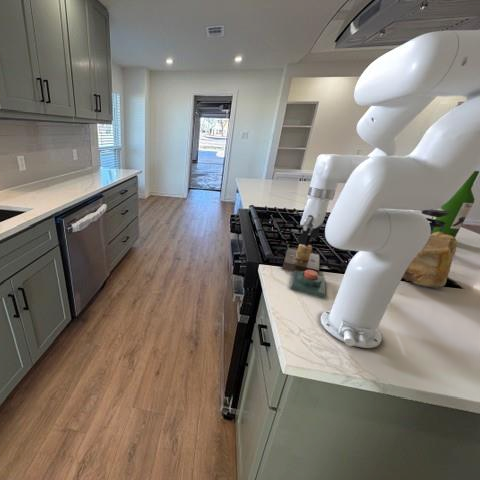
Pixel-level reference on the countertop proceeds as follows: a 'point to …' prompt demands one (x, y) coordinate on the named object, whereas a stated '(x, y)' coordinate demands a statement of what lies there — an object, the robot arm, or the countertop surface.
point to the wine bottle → (457, 208)
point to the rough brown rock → (432, 261)
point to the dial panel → (300, 262)
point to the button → (310, 274)
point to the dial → (303, 252)
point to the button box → (308, 284)
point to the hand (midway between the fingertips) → (307, 241)
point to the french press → (436, 213)
